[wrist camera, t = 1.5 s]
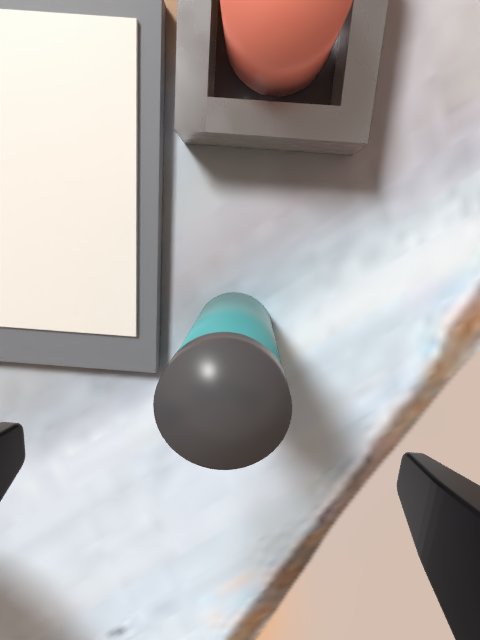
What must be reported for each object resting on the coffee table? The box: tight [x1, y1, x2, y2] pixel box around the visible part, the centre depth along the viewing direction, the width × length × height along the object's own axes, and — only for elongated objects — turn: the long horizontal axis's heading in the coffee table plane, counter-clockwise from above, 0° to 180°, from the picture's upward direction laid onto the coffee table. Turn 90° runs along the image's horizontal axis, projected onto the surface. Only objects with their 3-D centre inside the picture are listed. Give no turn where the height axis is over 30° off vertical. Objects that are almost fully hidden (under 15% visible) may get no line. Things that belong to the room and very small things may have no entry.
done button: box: [220, 0, 353, 96], centre depth 13 cm, size 4×4×4 cm
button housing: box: [174, 0, 388, 155], centre depth 15 cm, size 8×8×2 cm
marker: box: [153, 292, 292, 470], centre depth 15 cm, size 4×4×9 cm
